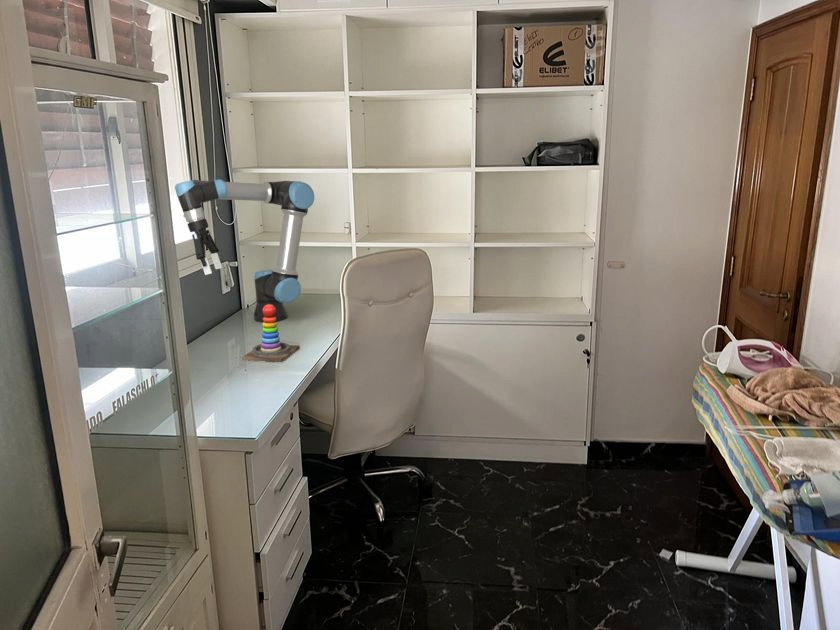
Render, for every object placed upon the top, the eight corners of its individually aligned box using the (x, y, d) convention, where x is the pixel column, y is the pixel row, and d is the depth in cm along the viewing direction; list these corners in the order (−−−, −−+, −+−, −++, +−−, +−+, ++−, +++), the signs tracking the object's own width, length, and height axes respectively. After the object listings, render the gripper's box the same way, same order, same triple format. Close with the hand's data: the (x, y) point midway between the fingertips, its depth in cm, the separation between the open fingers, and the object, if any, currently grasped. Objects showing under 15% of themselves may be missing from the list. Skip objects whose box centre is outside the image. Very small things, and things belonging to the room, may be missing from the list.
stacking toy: (276, 354, 246) (273, 307, 241) (257, 353, 248) (253, 306, 243) (284, 348, 253) (281, 302, 249) (266, 347, 255) (262, 301, 250)
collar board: (263, 346, 261) (262, 339, 260) (299, 348, 258) (299, 341, 257) (242, 360, 244) (241, 353, 243) (281, 362, 241) (280, 356, 240)
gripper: (197, 220, 268) (214, 268, 272) (176, 225, 243) (194, 279, 248) (214, 215, 267) (231, 264, 272) (194, 220, 243) (213, 274, 248)
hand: (214, 271), depth 260 cm, fingers open, 13 cm apart
